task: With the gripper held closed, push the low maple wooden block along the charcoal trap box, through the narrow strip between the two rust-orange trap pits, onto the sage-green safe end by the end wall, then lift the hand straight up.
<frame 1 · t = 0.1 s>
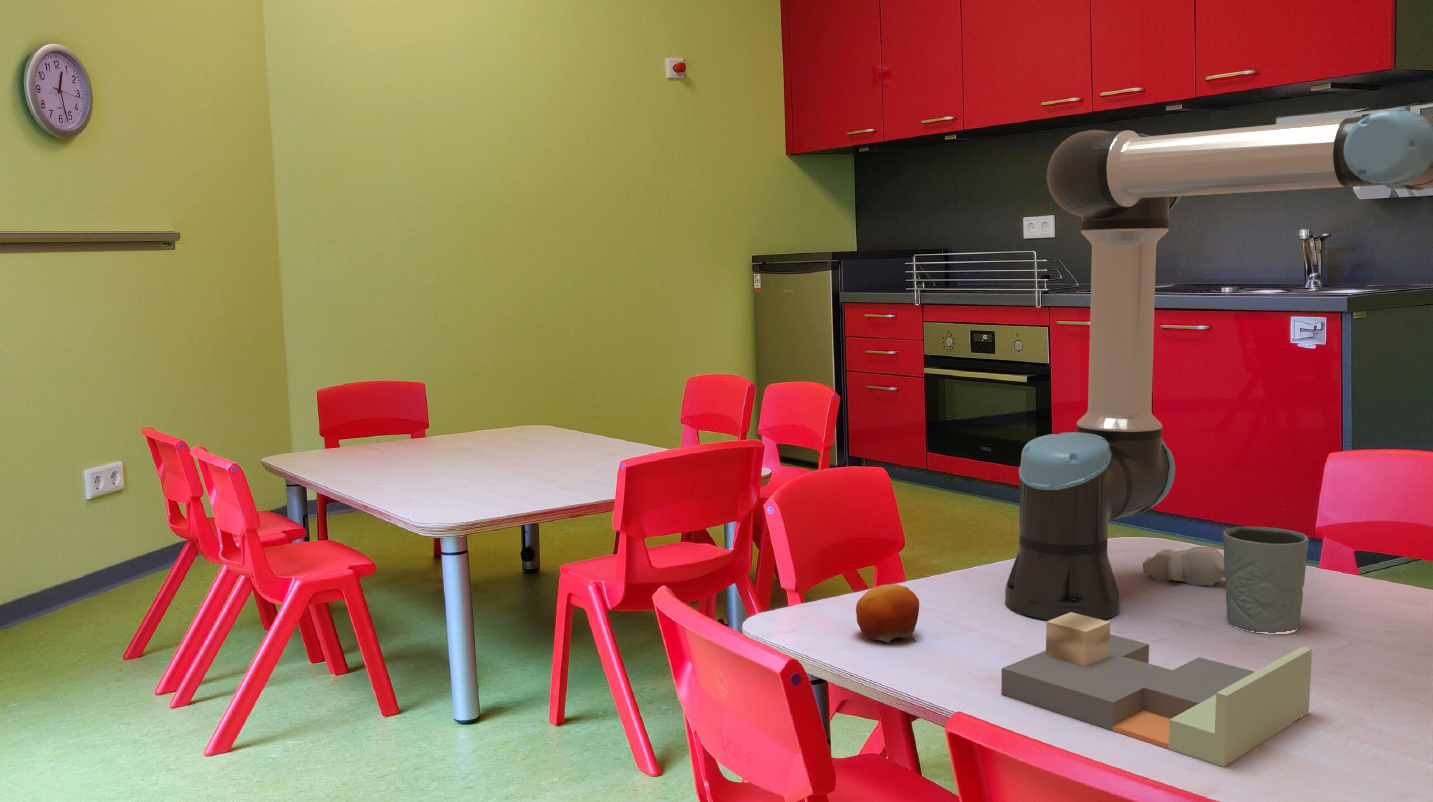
trap box: (1151, 703, 124), on the table
block: (1077, 655, 131), point 3 cm above the table, touching trap box
embossed grey cup: (1261, 625, 150), on the table
fruit: (888, 638, 147), on the table
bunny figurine: (1198, 583, 170), on the table
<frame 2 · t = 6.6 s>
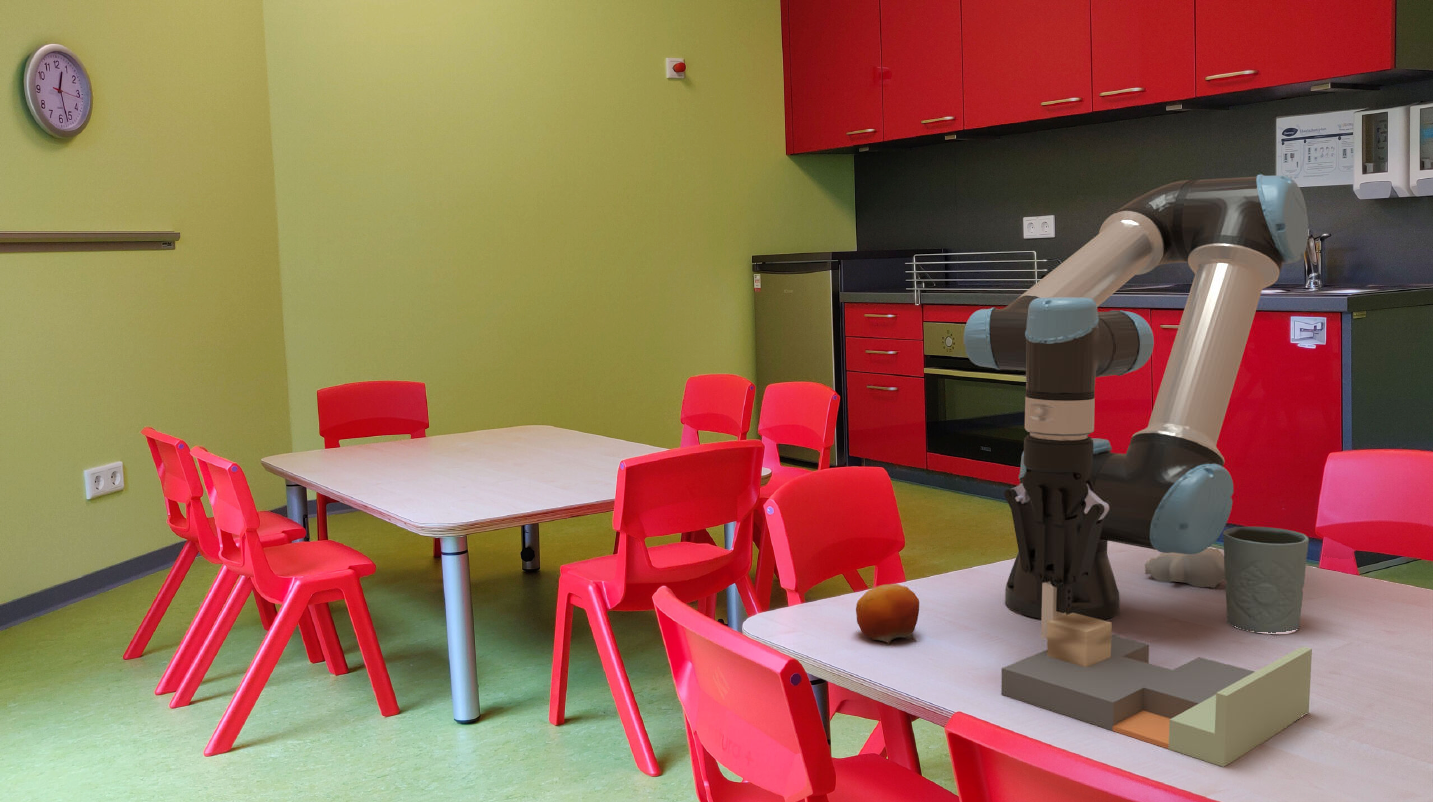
hand: (1053, 636, 132), 5 cm above the table, tool pointing down, fingers closed
block: (1078, 656, 130), point 3 cm above the table, touching gripper, trap box
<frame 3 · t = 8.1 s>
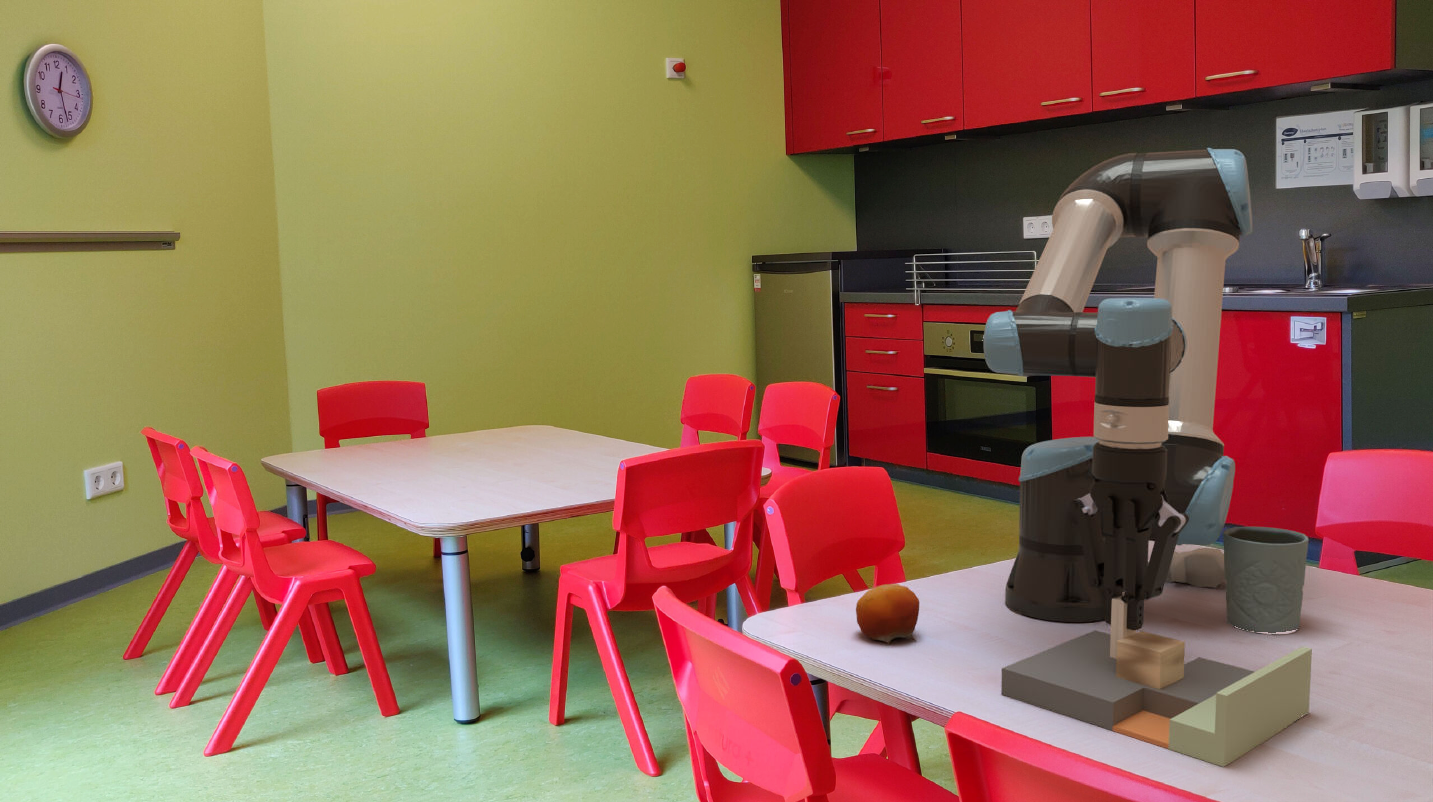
hand: (1122, 655, 126), 5 cm above the table, tool pointing down, fingers closed
block: (1149, 677, 124), point 3 cm above the table, touching trap box
everything else where it was.
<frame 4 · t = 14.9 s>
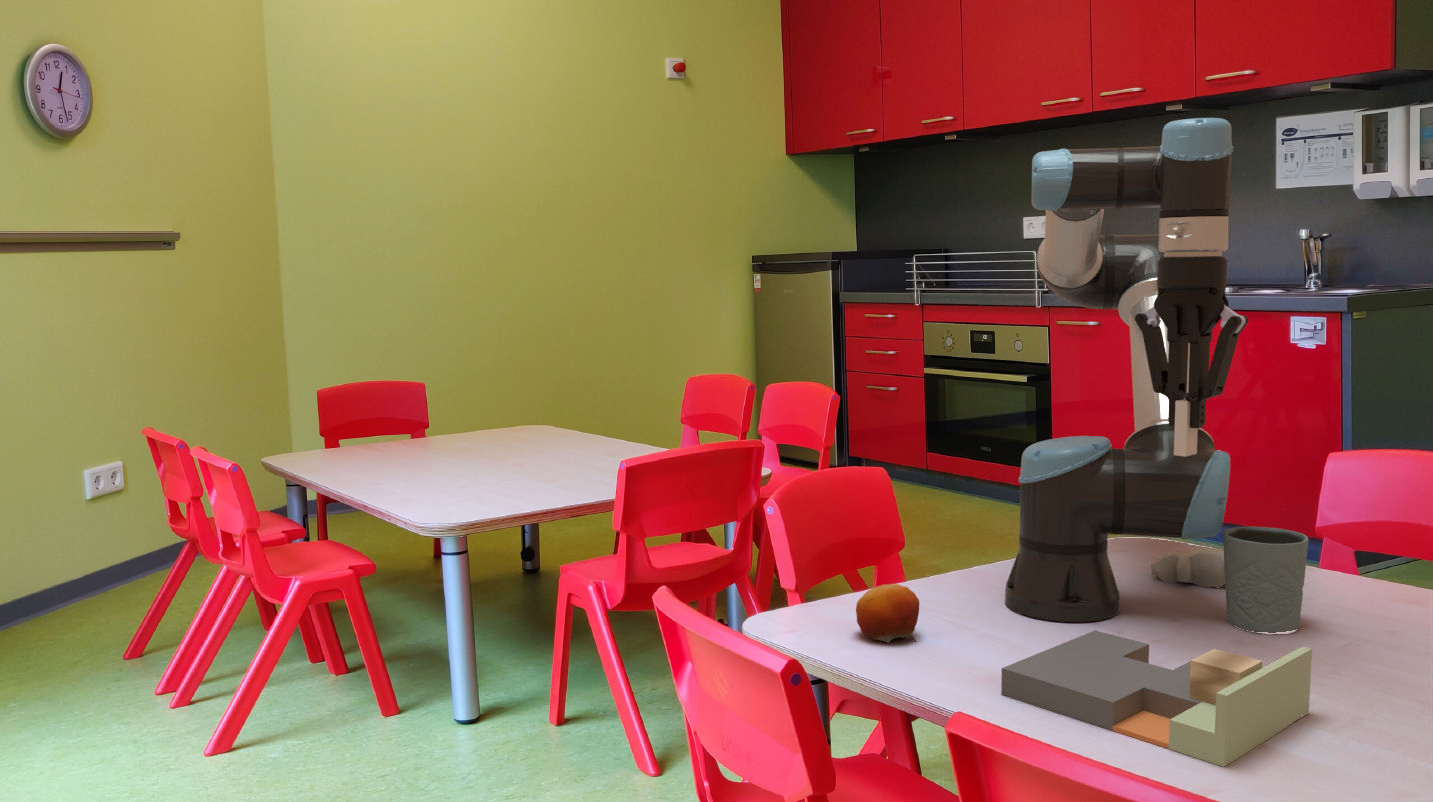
hand: (1185, 454, 137), 24 cm above the table, tool pointing down, fingers closed
block: (1225, 698, 118), point 3 cm above the table, touching trap box
at the end: block 0.3 cm from the target spot on the trap box, point 3.0 cm above the trap box's base; block tilted 0° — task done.
